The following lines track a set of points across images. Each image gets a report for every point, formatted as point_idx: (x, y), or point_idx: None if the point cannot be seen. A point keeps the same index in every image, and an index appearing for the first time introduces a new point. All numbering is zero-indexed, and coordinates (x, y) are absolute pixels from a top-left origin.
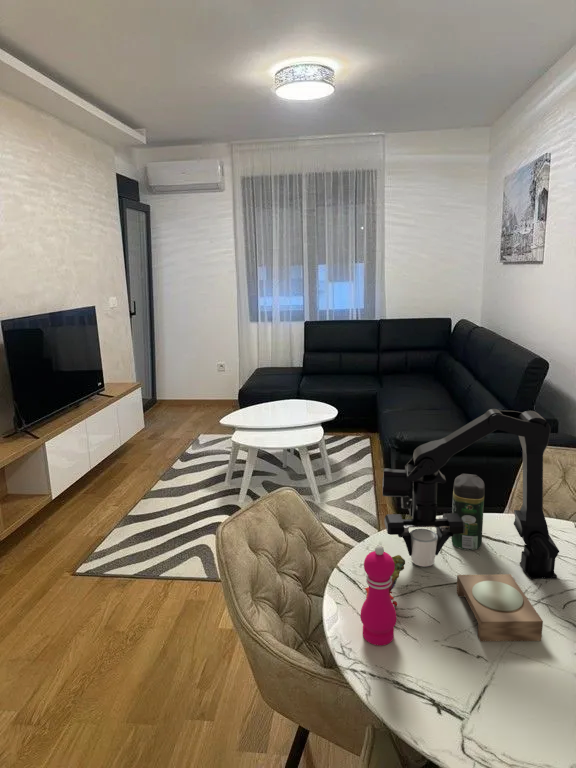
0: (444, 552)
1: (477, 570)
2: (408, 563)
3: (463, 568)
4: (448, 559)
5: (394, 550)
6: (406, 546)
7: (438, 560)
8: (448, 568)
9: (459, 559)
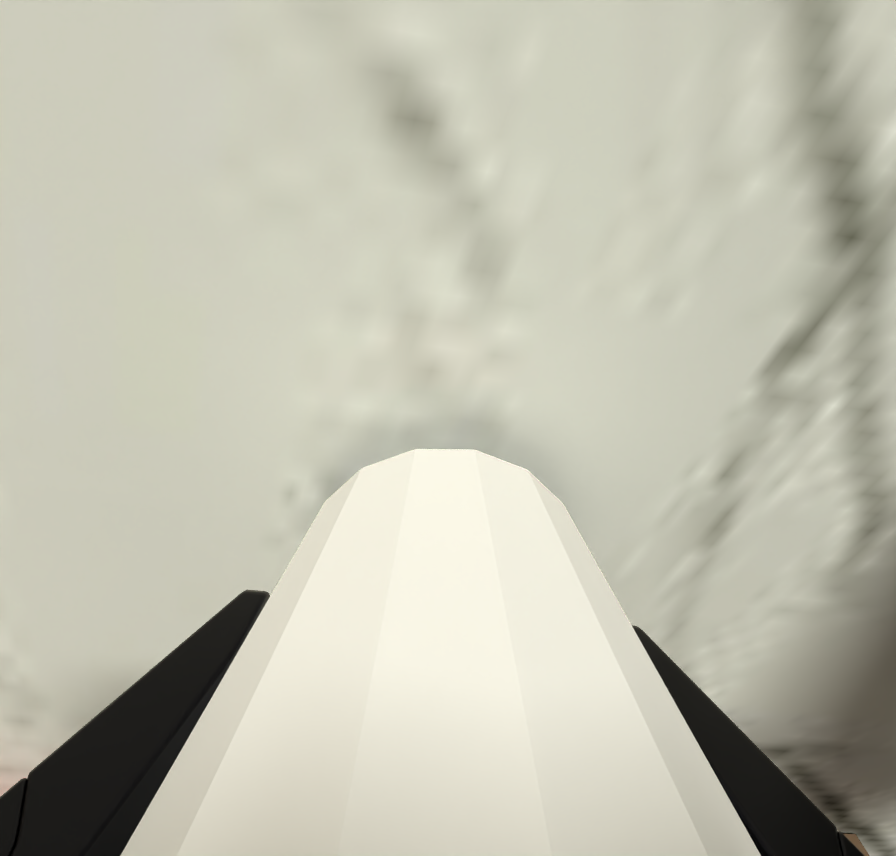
0: (833, 361)
1: (875, 670)
2: (288, 514)
3: (785, 638)
4: (762, 503)
5: (127, 187)
6: (145, 685)
7: (643, 506)
8: (654, 624)
9: (876, 518)
